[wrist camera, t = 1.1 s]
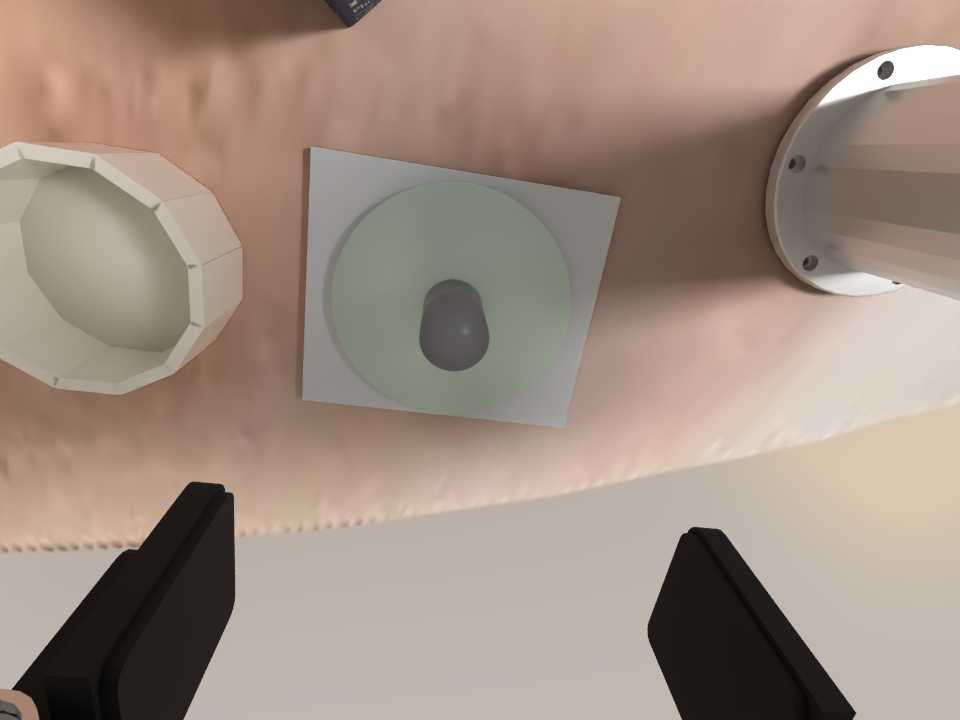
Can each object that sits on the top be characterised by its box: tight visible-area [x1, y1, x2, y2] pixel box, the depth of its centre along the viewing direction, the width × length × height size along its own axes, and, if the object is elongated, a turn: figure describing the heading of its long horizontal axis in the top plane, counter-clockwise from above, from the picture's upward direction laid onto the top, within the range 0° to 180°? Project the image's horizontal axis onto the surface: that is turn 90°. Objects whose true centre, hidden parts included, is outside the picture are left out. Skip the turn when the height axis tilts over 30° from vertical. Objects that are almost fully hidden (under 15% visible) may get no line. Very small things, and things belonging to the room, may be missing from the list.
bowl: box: [0, 142, 243, 395], centre depth 25 cm, size 11×11×5 cm
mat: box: [302, 146, 621, 429], centre depth 29 cm, size 16×14×1 cm
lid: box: [331, 181, 571, 414], centre depth 26 cm, size 13×13×6 cm
